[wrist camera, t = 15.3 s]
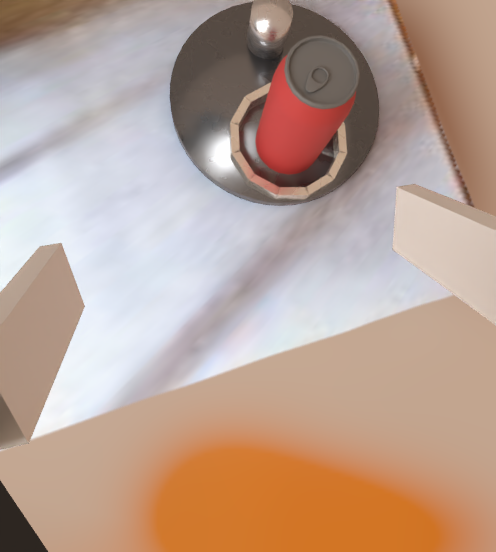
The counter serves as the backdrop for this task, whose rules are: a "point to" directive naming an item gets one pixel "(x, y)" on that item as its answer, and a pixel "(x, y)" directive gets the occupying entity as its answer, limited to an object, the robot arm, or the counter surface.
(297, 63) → the beer can
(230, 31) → the carrier plate
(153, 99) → the counter surface
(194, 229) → the counter surface
